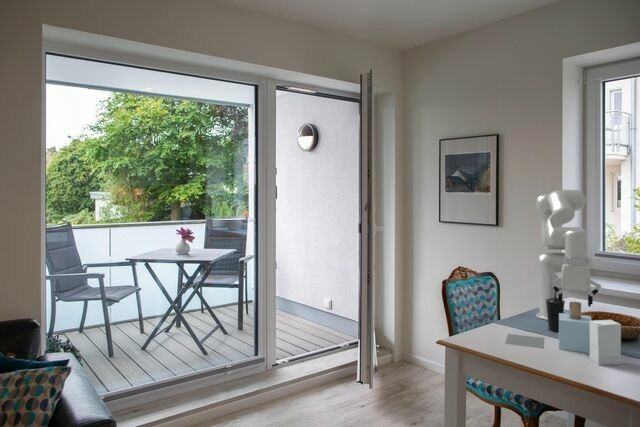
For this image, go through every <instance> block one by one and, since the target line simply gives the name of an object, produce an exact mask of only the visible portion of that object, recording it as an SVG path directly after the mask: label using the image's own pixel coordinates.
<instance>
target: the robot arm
mask: <svg viewBox="0 0 640 427" xmlns="http://www.w3.org/2000/svg"><path fill="white" fill-rule="evenodd" d="M585 205H586V196H585V194H584V192H583V191H582V190H579V189H557V190H553V191H551V192H550V193H544V194H540V195H538V196H537V197H536V200H535V206H536V207H535V208H536V211H537V214H538V216H539V219H540V242H541V243H540V244H541V247H542V248H543V249H546V250H553V252H552V251H551V252H543V253H541V254H539V255H538V257H537V265H538V271H539V311H538V312H537V313H536V314H535V317H536V318H538V319H541V320H546V321H548V315H547V304H546V299H549V298H553V297H554V296H555V291H556V298H558V301H560V304H562V300H563V295H564V294H563V292H565V291H577V292H586V293H587V294H588V295H587V306H588V307H589V308H590V307H591V305H593V304H594V303H593V300H594V296H595V295H597V294H598V293H599V291H600V289H601V288H602V285H601V284H600V283H598V282H596V281H594V280H592V279H591V271H590V266H589V263H592V258H588V232H587V231H586V230H585V229H584V228H582V227H577V226H576V227H573V226H572V227H571V226H570V227H569V226H568V227H567V226H565V227H564V226H562V225H565V224H568V223H570V222H571V221H573V220H574V218H575V216H576V213H575V212H577V211H580V210H582V209H583V208H584V207H585ZM554 250H555V251H556V250H557V251H558V252H554ZM561 250H562V251H564V252H559V251H561ZM557 273H559V274H560V277H559V276H558V275H557ZM591 285H592V286H593V287H595V288H594V289H593V290H591Z"/></svg>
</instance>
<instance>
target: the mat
mask: <svg viewBox="0 0 640 427" xmlns="http://www.w3.org/2000/svg"><path fill="white" fill-rule="evenodd" d="M504 344H505V345H511V346H512V345H513V346H521V347H528V348H529V347H530V348H535V349H537V348H538V349H544V346H545V345H544V344H545V337H539V336H531V335H522V334H521V335H520V334H514V333H507V337H506V339H505V343H504Z"/></svg>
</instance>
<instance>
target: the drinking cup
mask: <svg viewBox="0 0 640 427" xmlns="http://www.w3.org/2000/svg"><path fill="white" fill-rule="evenodd" d="M546 304H547V315H548V320H547V323H548V324H547V325H548V331H549V332H552V333H559V313H564V310H565V304H566V301H565V300H564V299H562V304H560V301H558V298H556V291H555V296H554V297H553V298H549V299H546Z"/></svg>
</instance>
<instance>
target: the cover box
mask: <svg viewBox="0 0 640 427" xmlns="http://www.w3.org/2000/svg"><path fill="white" fill-rule="evenodd" d="M568 309H569V313H564V312H563V313H559V332H558V350H562V351H570V352H579V353H583V354H587V355H590V321H593V320H592V315H583V314H582V302H579V301H569V308H568Z"/></svg>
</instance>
